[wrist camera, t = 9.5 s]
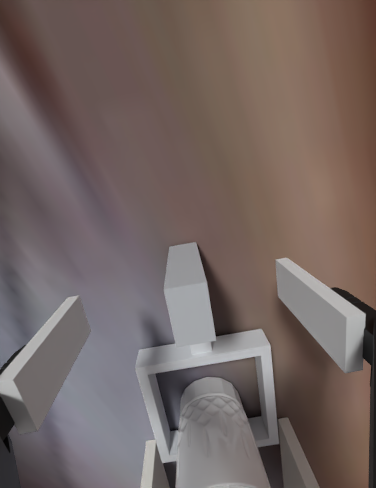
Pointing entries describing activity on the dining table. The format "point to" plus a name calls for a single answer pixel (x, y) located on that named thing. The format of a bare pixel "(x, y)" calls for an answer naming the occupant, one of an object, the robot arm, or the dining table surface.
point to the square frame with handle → (200, 350)
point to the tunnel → (292, 456)
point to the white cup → (216, 439)
